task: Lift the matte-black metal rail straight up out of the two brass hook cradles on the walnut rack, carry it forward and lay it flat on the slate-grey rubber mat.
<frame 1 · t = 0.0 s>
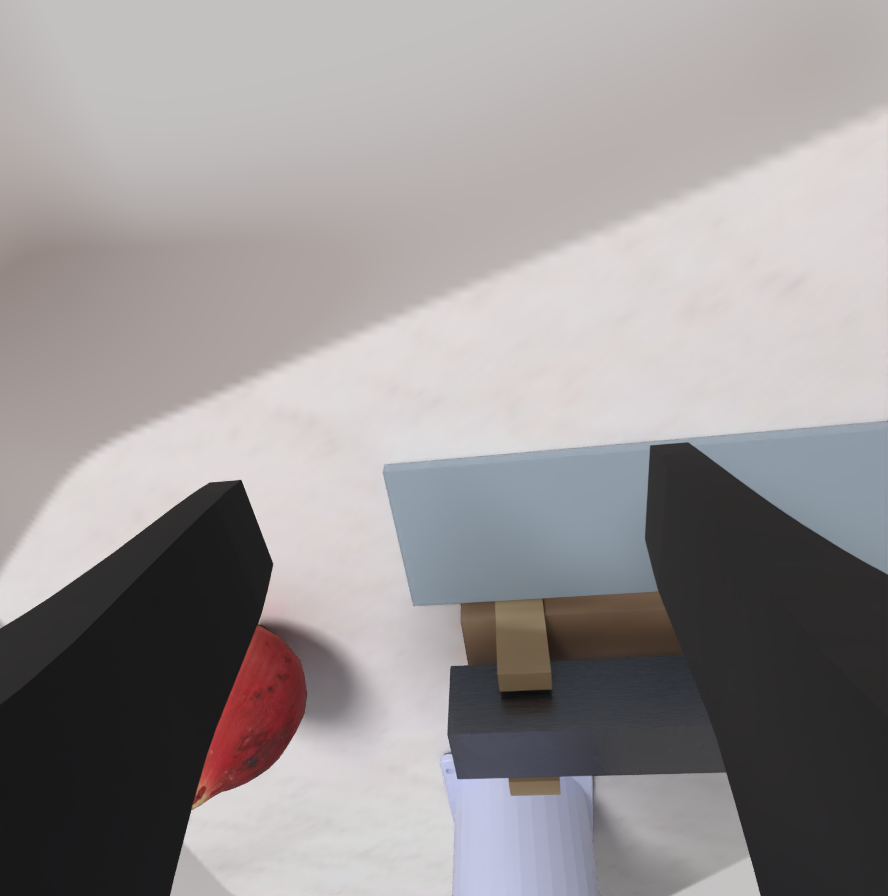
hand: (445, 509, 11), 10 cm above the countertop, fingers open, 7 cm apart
rack: (658, 631, 27), on the countertop
onion: (261, 626, 28), on the countertop
rail: (673, 679, 24), point 2 cm above the countertop, touching rack
mat: (667, 516, 23), on the countertop
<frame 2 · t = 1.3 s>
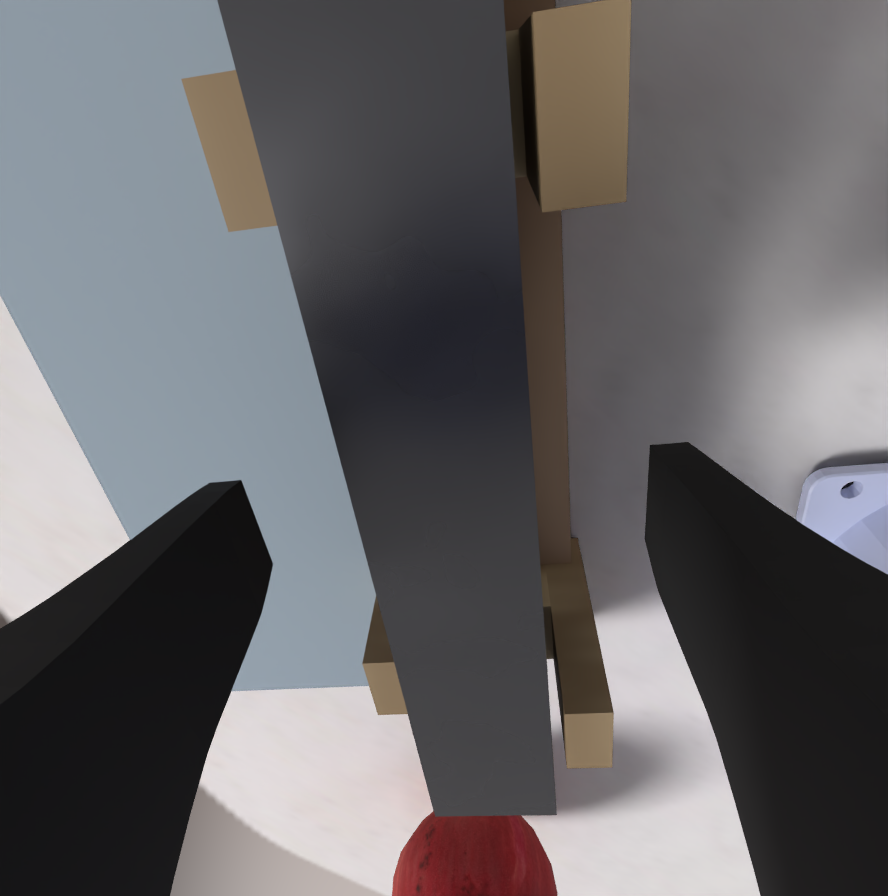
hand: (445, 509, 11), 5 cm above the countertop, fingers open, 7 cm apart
rack: (459, 390, 15), on the countertop
onion: (475, 784, 24), on the countertop
rail: (455, 443, 13), point 2 cm above the countertop, touching rack
mat: (210, 414, 16), on the countertop
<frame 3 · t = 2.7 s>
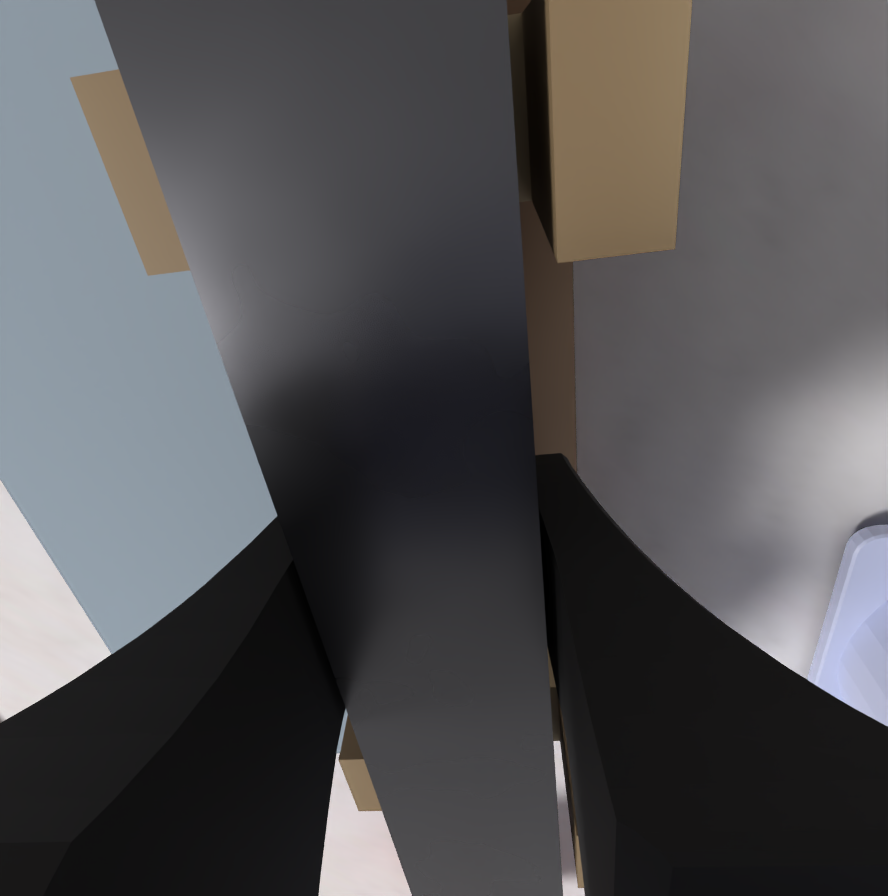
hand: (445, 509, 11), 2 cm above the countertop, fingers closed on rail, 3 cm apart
rack: (450, 439, 13), on the countertop
rail: (445, 512, 11), point 2 cm above the countertop, touching gripper, rack
mat: (163, 464, 13), on the countertop
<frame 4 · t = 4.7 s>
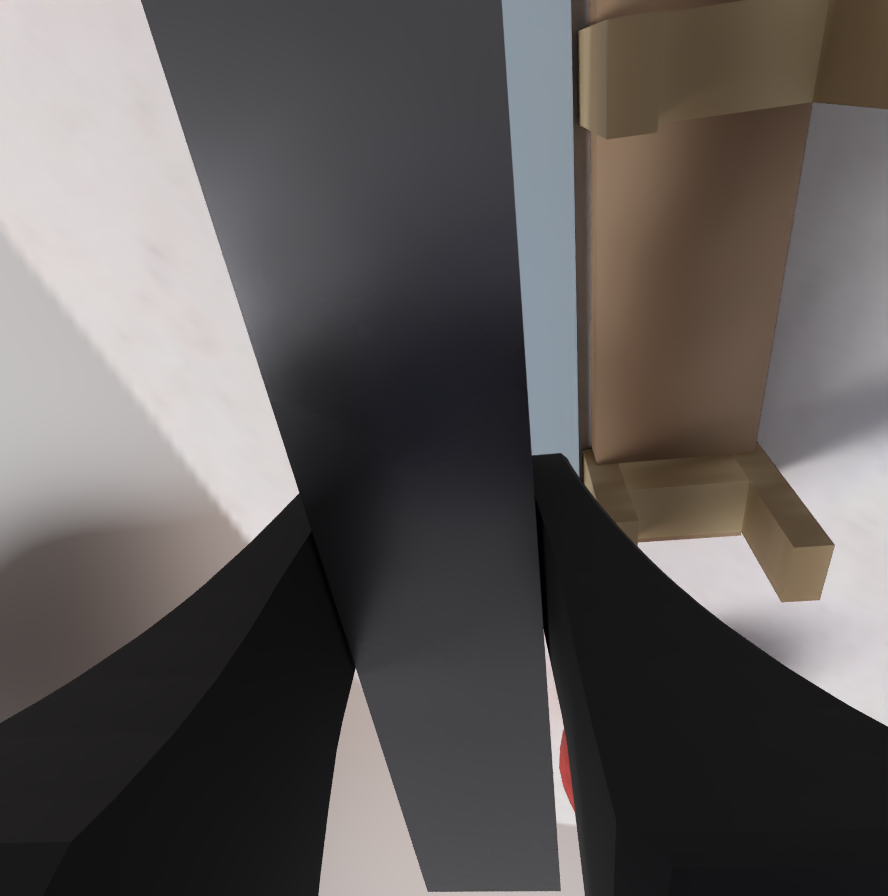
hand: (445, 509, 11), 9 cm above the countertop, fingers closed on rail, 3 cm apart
rack: (676, 300, 18), on the countertop
onion: (613, 682, 28), on the countertop
rail: (447, 492, 11), point 9 cm above the countertop, touching gripper
mat: (459, 324, 19), on the countertop
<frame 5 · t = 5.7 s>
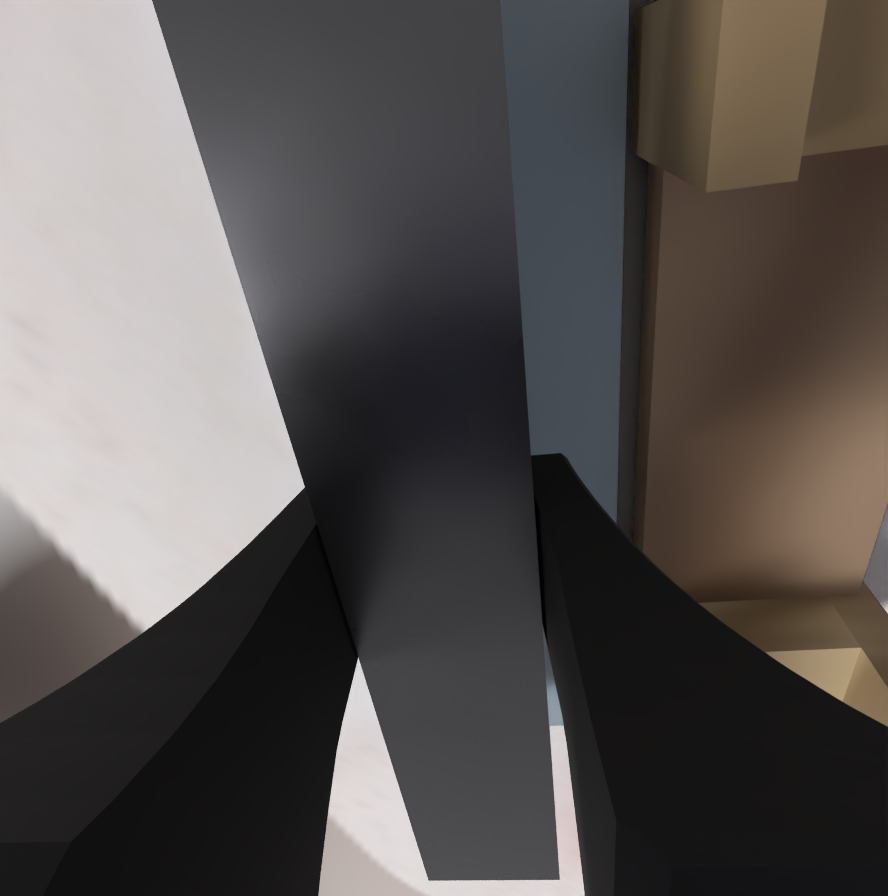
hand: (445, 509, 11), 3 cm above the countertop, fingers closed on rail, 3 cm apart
rack: (760, 395, 13), on the countertop
rail: (448, 485, 12), point 2 cm above the countertop, touching gripper
mat: (453, 423, 13), on the countertop
when the fingers open (2 cm above the countertop, at t = 6.7 s): rail stays where it is, resting on mat.
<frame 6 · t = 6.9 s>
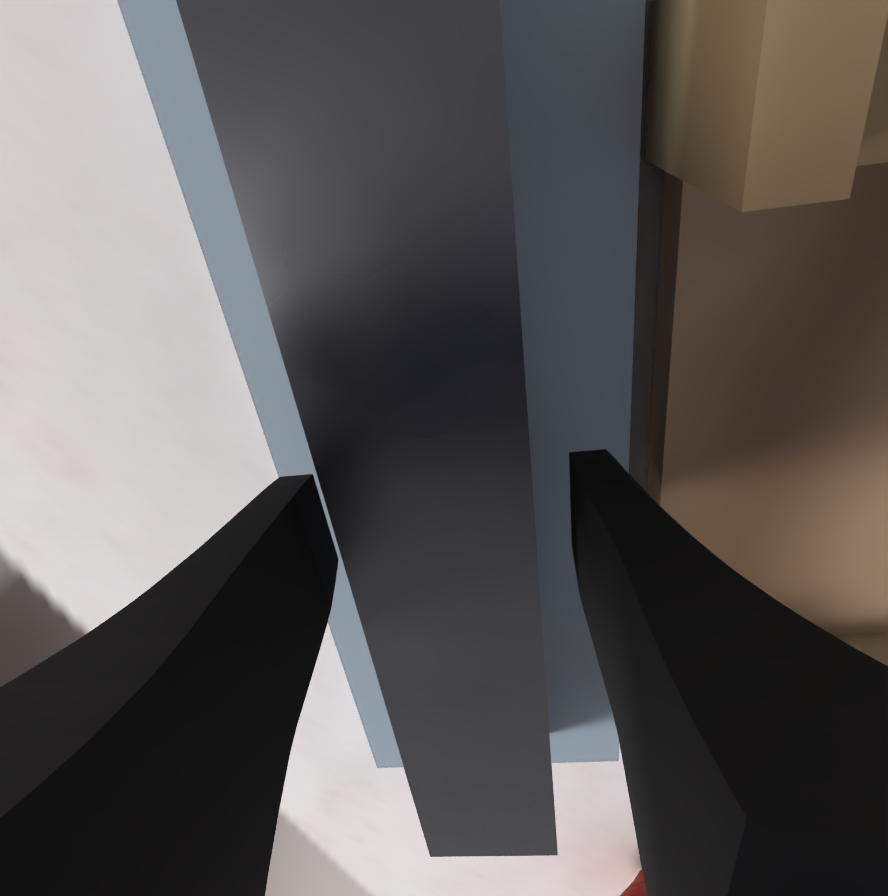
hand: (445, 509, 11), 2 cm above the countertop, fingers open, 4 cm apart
rack: (782, 422, 12), on the countertop
onion: (653, 859, 21), on the countertop
rail: (449, 470, 12), resting on mat
mat: (449, 451, 12), on the countertop
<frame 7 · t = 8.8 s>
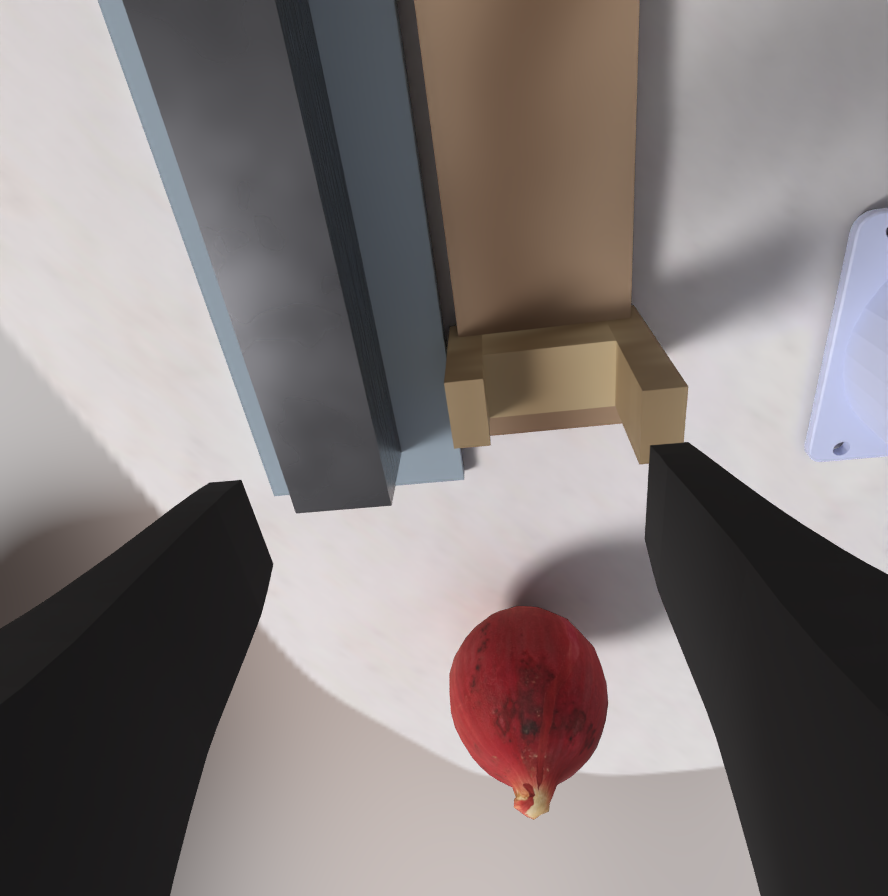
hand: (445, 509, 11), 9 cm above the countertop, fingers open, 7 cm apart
rack: (530, 134, 16), on the countertop
onion: (520, 610, 26), on the countertop
rail: (289, 177, 16), resting on mat
mat: (292, 169, 16), on the countertop
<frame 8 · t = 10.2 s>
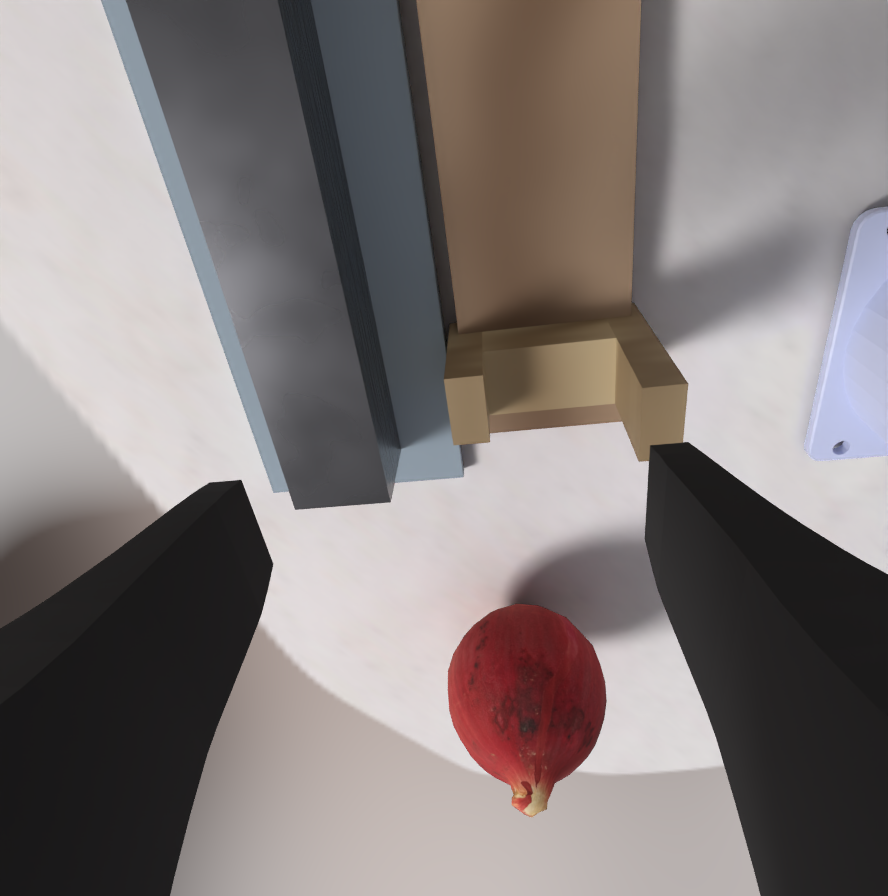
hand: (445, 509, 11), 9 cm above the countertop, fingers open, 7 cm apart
rack: (531, 131, 16), on the countertop
onion: (519, 608, 26), on the countertop
rail: (289, 172, 16), resting on mat
mat: (293, 165, 16), on the countertop
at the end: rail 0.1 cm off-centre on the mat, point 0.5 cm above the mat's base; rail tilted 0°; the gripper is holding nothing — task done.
